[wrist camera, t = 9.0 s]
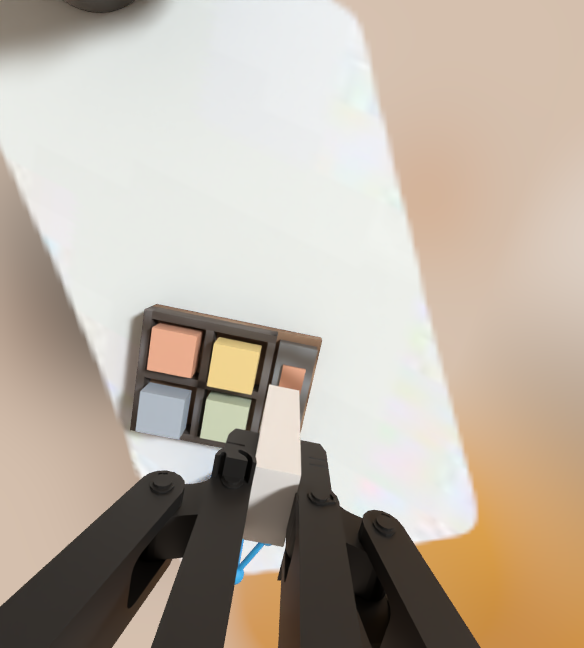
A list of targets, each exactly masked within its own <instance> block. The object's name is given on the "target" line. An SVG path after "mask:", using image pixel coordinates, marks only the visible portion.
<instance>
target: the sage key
mask: <svg viewBox="0 0 584 648" xmlns="http://www.w3.org/2000/svg"><path fill="white" fill-rule="evenodd" d="M251 401H252V398H248V397H243V396H238V395H233V394H228V393H223V392H218V391H212V390H211V392H210V394H209V396H208V397H207V399H206V405H205V411H204V417H203V423H202V429H201V435H200V438H203V439H208V440H214V441H219V442H224V443H226V440H227V437H228V435H229V433H230V432H232V431H233V430H234V429H236V428H237V429H242V430H246V426H247V421H248V416H249V411H250V406H251Z"/></svg>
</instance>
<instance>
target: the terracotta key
mask: <svg viewBox="0 0 584 648" xmlns="http://www.w3.org/2000/svg"><path fill="white" fill-rule="evenodd" d="M202 335H203V331H202V330H197V329H192V328H187V327H182V326H177V325H172V324H167V323H162V322H161V323H159V324H157V325H156V326H154V327H152V333H151V341H150V349H149V357H148V365H147V370H151V371H156V372H161V373H166V374H171V375H176V376H181V377H186V378H191V377H192V376H193V375H194V373H195V372H196V371H197V367H198V361H199V354H200V348H201V342H202Z"/></svg>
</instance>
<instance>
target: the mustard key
mask: <svg viewBox="0 0 584 648" xmlns="http://www.w3.org/2000/svg"><path fill="white" fill-rule="evenodd" d="M261 348H262V346H261V345H256V344H251V343H246V342H241V341H236V340H232V339H227V338H222V337H219V338H218V339H217V340H216V341H215V343H214V346H213V352H212V358H211V364H210V370H209V376H208V382H207V386H209V387H214V388H219V389H224V390H229V391H234V392H239V393H244V394H249V395H251V394H252V391H253V388H254V384H255V379H256V373H257V368H258V363H259V358H260V353H261Z"/></svg>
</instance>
